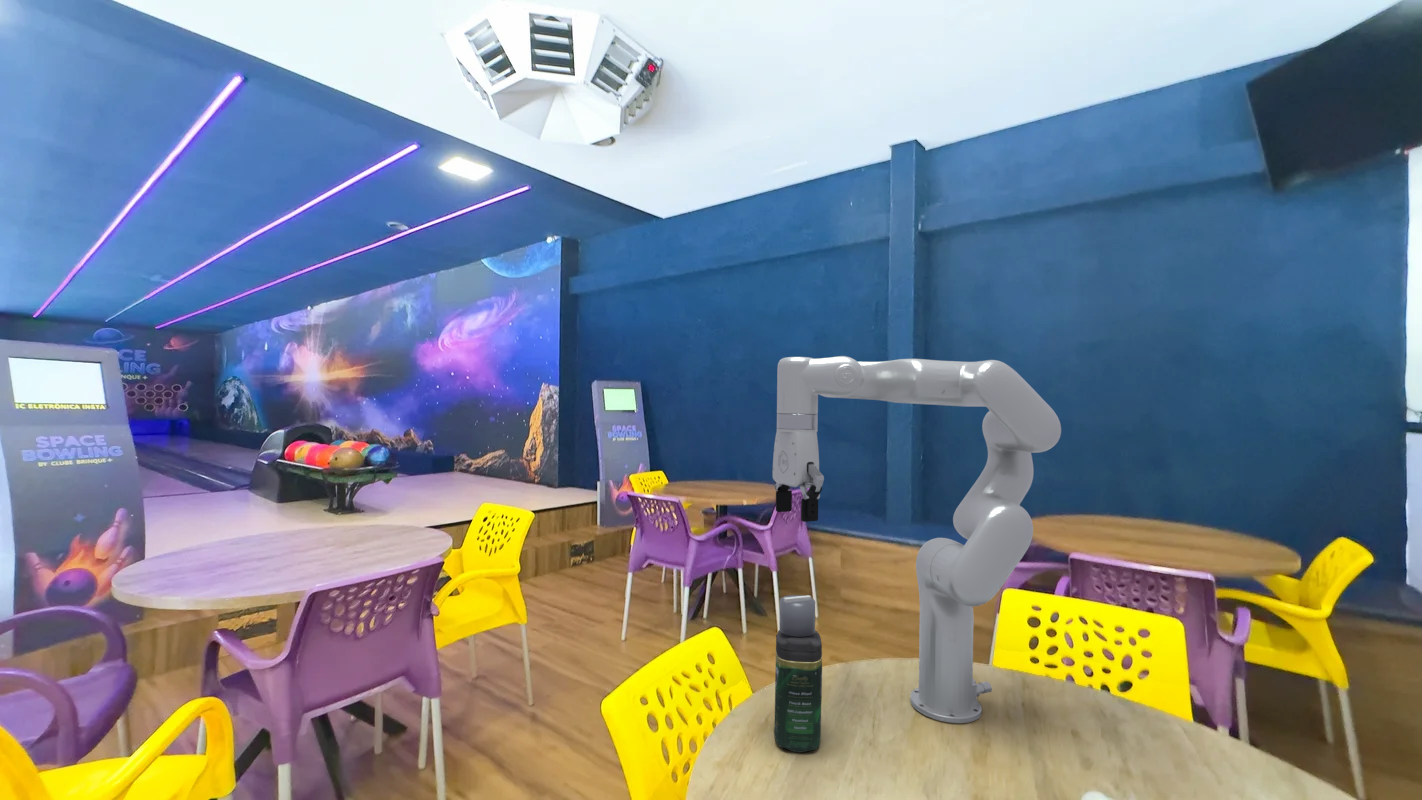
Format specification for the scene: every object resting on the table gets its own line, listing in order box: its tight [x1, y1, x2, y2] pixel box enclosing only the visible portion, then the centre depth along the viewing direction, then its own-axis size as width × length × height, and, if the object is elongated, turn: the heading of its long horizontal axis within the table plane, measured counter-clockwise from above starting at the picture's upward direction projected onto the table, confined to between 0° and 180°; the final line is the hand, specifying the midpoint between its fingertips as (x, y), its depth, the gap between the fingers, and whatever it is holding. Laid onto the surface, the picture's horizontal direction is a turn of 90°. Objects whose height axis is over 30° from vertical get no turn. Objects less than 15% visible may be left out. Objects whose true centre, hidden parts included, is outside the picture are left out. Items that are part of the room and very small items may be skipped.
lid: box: [778, 594, 816, 637], centre depth 104 cm, size 6×6×6 cm
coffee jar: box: [774, 629, 823, 753], centre depth 104 cm, size 10×8×19 cm
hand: (796, 516), depth 113 cm, fingers open, 9 cm apart
